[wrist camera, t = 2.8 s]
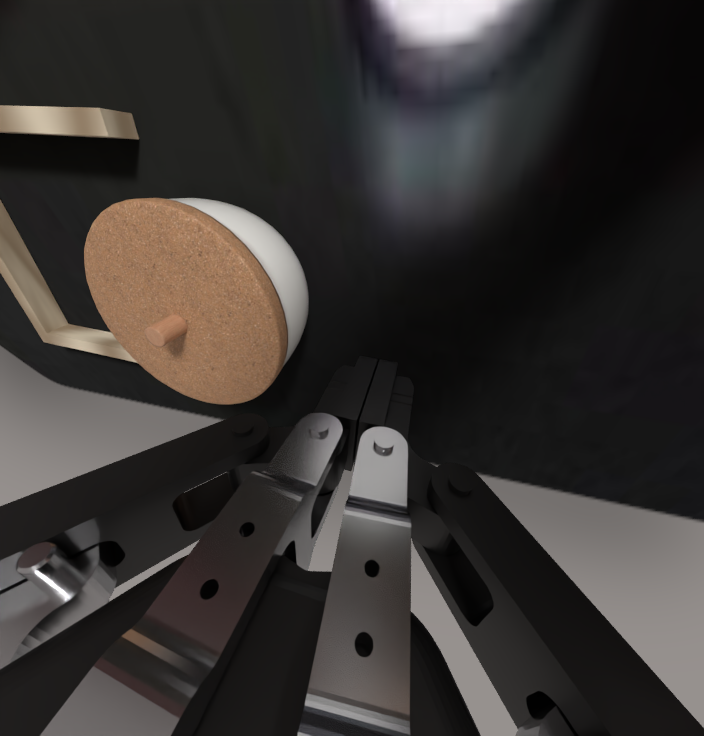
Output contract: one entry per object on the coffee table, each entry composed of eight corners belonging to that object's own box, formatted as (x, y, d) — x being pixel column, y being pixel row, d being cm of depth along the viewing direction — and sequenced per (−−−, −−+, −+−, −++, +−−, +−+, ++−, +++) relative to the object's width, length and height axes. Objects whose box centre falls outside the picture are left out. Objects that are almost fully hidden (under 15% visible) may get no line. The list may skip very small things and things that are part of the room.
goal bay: (131, 113, 17) (99, 108, 16) (202, 361, 27) (187, 373, 26) (-62, 108, 20) (-106, 102, 19) (65, 332, 30) (43, 341, 29)
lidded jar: (235, 351, 25) (146, 428, 18) (163, 216, 20) (-3, 244, 13) (350, 334, 22) (298, 422, 14) (297, 162, 16) (170, 156, 9)
